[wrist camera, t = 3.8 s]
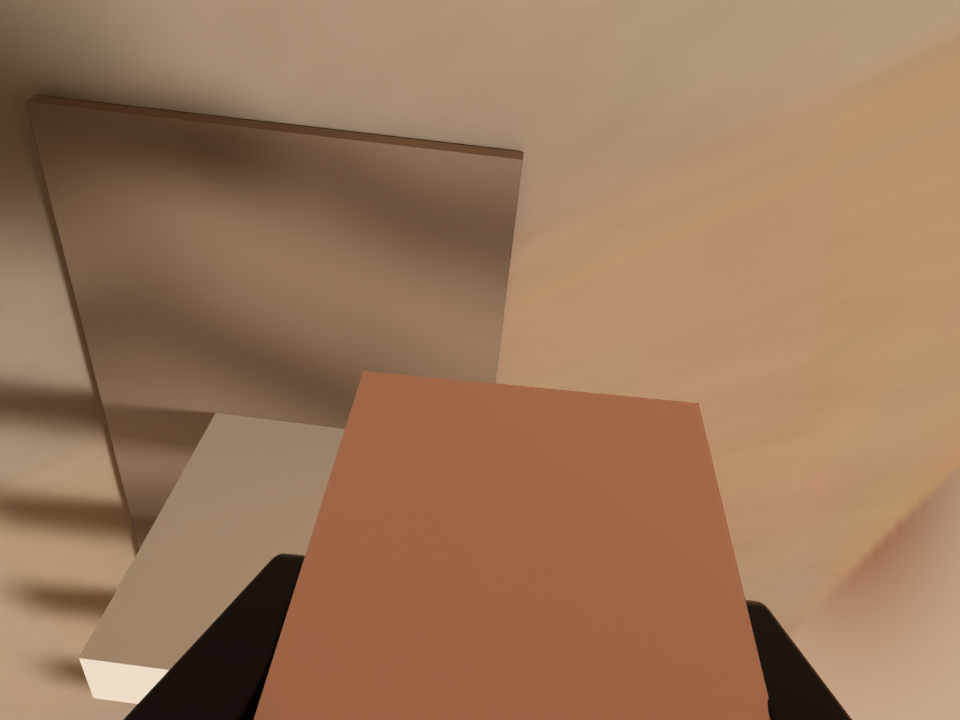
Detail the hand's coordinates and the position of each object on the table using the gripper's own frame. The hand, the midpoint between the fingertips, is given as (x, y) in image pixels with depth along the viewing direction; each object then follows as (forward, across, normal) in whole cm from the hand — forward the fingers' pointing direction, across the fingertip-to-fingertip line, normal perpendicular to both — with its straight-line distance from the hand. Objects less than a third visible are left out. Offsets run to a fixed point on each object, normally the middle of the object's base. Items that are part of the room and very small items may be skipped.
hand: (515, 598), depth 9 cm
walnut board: (+13, +6, +14) cm, 20 cm away
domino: (+12, +6, +9) cm, 17 cm away
